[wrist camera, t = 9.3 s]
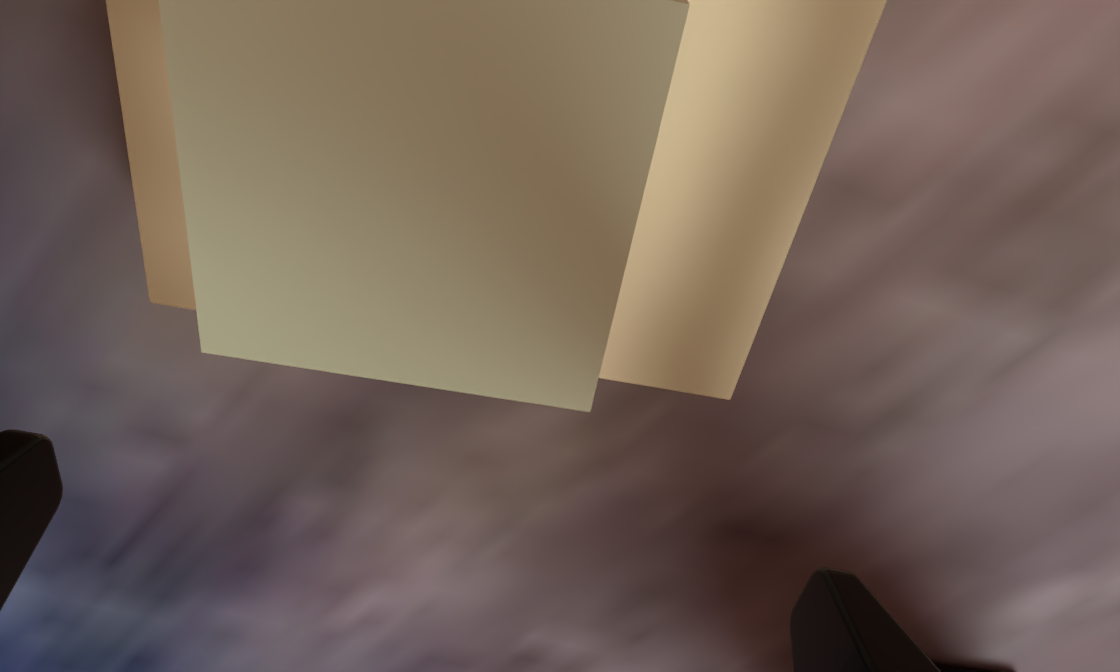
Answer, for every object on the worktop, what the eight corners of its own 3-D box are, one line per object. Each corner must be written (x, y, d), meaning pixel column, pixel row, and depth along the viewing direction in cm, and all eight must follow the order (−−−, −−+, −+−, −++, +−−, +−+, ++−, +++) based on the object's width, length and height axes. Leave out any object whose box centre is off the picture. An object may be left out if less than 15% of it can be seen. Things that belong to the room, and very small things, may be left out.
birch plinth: (943, -316, 13) (1025, -354, 11) (713, 333, 21) (730, 399, 18) (135, -510, 12) (17, -602, 10) (205, 245, 20) (149, 302, 17)
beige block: (645, -67, 13) (690, 4, 7) (591, 199, 16) (589, 411, 10) (355, -124, 13) (146, -98, 7) (351, 159, 15) (201, 352, 9)
